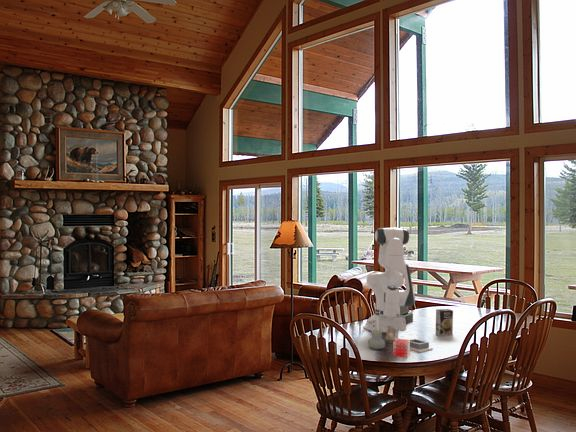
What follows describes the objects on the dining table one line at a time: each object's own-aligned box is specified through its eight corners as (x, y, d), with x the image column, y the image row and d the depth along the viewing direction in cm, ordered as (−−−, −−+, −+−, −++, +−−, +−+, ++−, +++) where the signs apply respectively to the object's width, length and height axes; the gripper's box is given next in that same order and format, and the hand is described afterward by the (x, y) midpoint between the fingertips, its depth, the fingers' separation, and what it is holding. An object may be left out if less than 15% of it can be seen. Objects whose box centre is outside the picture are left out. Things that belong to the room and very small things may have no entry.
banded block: (386, 342, 329) (386, 326, 329) (393, 341, 333) (393, 324, 333) (390, 343, 326) (391, 327, 326) (397, 342, 329) (398, 326, 329)
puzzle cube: (407, 357, 297) (407, 343, 297) (393, 355, 300) (393, 341, 300) (409, 353, 305) (410, 339, 305) (395, 352, 308) (395, 338, 307)
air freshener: (367, 346, 321) (367, 329, 320) (381, 346, 321) (381, 329, 321) (371, 351, 310) (371, 333, 310) (385, 350, 310) (386, 333, 310)
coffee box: (440, 336, 349) (440, 310, 349) (435, 333, 355) (435, 309, 355) (453, 335, 351) (453, 310, 351) (447, 333, 357) (447, 308, 357)
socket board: (401, 346, 320) (401, 340, 320) (414, 344, 326) (414, 337, 326) (419, 352, 308) (419, 345, 308) (432, 349, 314) (432, 342, 314)
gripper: (408, 315, 322) (408, 338, 323) (384, 309, 339) (384, 331, 339) (401, 316, 319) (400, 339, 319) (377, 310, 336) (376, 333, 336)
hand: (392, 335), depth 329 cm, fingers closed on banded block, 4 cm apart
